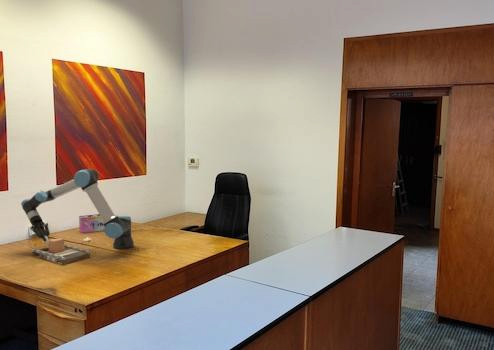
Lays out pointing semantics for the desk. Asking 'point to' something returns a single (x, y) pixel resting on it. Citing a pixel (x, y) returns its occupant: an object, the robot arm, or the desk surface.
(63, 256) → the rail track section
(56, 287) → the desk surface
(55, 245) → the terracotta block
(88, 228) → the gum box
